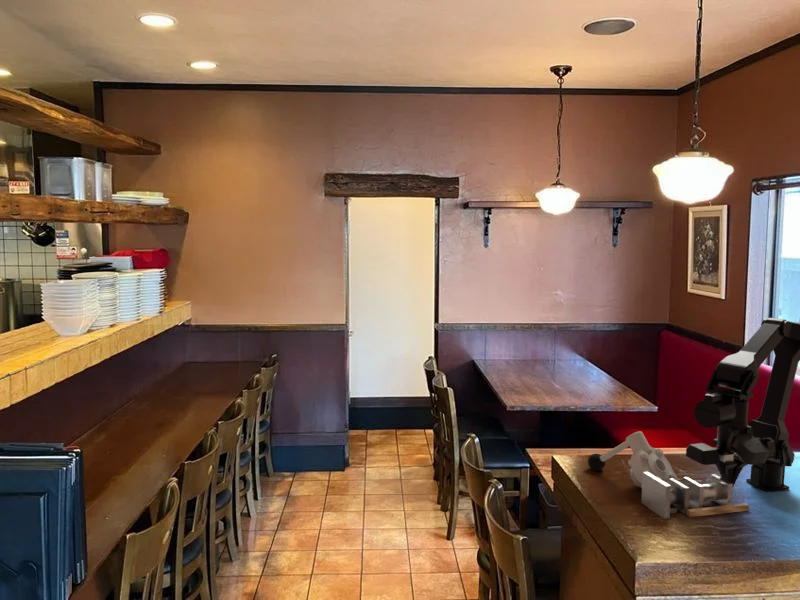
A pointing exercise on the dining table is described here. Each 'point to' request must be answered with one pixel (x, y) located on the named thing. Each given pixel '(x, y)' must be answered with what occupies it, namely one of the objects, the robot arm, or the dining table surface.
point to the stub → (664, 495)
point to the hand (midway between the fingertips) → (729, 488)
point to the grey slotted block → (709, 491)
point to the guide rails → (717, 510)
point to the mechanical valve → (638, 459)
